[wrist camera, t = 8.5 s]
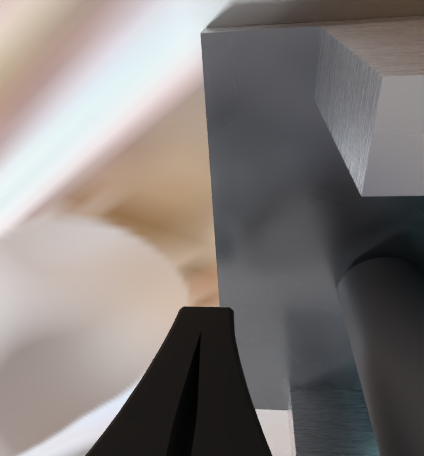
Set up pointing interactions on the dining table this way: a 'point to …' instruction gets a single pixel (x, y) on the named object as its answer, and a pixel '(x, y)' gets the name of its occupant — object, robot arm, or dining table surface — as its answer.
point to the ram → (388, 348)
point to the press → (312, 201)
